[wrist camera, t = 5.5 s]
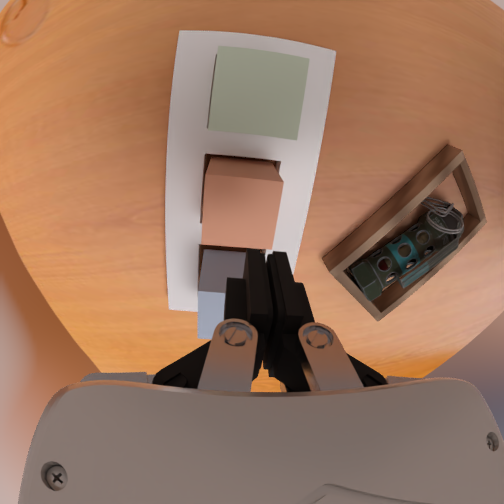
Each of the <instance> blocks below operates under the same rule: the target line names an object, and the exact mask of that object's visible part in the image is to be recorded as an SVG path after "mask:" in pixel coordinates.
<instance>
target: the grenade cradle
mask: <svg viewBox="0 0 504 504" xmlns="http://www.w3.org/2000/svg"><path fill="white" fill-rule="evenodd" d="M451 172H453V175H454V177H455V179H456V182H457V184H458V187H459V189H460V192H461V194H462V197H463V199H464V202H465V205H466V208H467V211H468V214H467V215H466V216H465V217H464V218H463V222H464V231H463V233H462V235H461V236H460V238H459V245H458V248H457V249H456V250H455V251H453V252H452V253H451V254H450V255H448V256H447V257H446V258H445V259H443V260H442V261H441V262H439V263H438V264H437V265H436V266H434V267H433V268H432V269H430V270H429V271H428V272H426V273H425V274H424V275H422V276H421V277H419V278H418V279H417V280H415V281H414V282H412V283H411V284H410V285H408V286H407V287H405V288H402V286H401V285H400V284H399V282H398V280H397V281H396V282H395V283H393V284H392V285H391V286H390V287H389V288H387V289H386V290H385V291H384V292H382V293H381V295H380V296H378V297H377V298H375V299H374V300H372V301H371V302H370V301H368V300H367V298H366V297H365V295H364V293H363V291H362V290H361V288H360V286H359V285H358V283H357V281H356V280H355V279H354V278H353V277H352V276H351V275H350V274H349V273H348V272H347V270H346V268H347V267H348V266H350V265H351V264H352V263H353V262H354V261H356V260H357V259H358V258H359V257H360V256H362V255H363V254H364V253H365V252H366V251H367V250H369V249H370V248H371V247H372V246H373V245H374V244H376V243H377V242H378V241H379V240H380V239H381V238H383V237H384V236H385V235H386V234H387V233H388V232H389V231H390V230H392V229H393V228H394V227H395V226H396V225H397V224H398V223H399V222H400V221H402V220H403V219H404V218H405V217H406V216H407V215H408V214H409V213H410V212H411V211H412V210H413V209H415V208H416V207H417V206H418V205H419V204H420V203H421V202H422V201H423V200H424V199H425V198H426V197H427V196H428V195H429V194H430V193H431V192H432V191H433V190H434V189H435V188H436V187H437V186H438V185H439V184H440V183H441V182H442V181H443V180H444V179H445V178H446V177H447V176H448V175H449V174H450V173H451ZM486 223H487V221H486V218H485V214H484V211H483V207H482V204H481V200H480V197H479V194H478V191H477V188H476V185H475V182H474V179H473V177H472V174H471V171H470V169H469V166H468V163H467V161H466V158H465V156H464V153H463V151H462V150H460V149H457V148H455V147H452V146H449V145H447V146H446V147H445V148H444V149H443V150H442V151H441V152H440V153H439V154H438V155H437V156H436V157H435V158H434V159H433V160H431V161H430V162H429V163H428V164H427V165H426V166H425V167H424V168H423V169H422V170H421V171H420V172H419V173H418V174H417V175H416V176H415V177H414V178H413V179H412V180H411V181H409V182H408V183H407V184H406V185H405V186H404V187H403V188H402V189H401V190H400V191H399V192H398V193H397V194H395V195H394V196H393V197H392V198H391V199H390V200H389V201H388V202H387V203H386V204H384V205H383V206H382V207H381V208H380V209H379V210H378V211H377V212H376V213H374V214H373V215H372V216H371V217H370V218H369V219H368V220H367V221H365V222H364V223H363V224H362V225H361V226H360V227H359V228H357V229H356V230H355V231H354V232H353V233H352V234H350V235H349V236H348V237H347V238H346V239H345V240H343V241H342V242H341V243H340V244H339V245H338V246H336V247H335V248H334V249H333V250H332V251H330V252H329V253H328V254H327V255H326V256H325V257H323V258H322V259H323V261H324V263H325V265H326V267H327V269H328V271H329V272H330V273H331V274H332V275H333V276H334V277H335V278H336V279H337V280H338V281H339V282H340V283H341V284H342V285H343V286H344V287H345V288H346V289H347V290H348V291H349V293H350V294H351V295H352V296H353V297H354V298H355V299H356V300H357V301H358V302H359V303H360V304H361V305H362V306H363V307H364V308H365V309H366V310H367V311H368V312H369V313H370V314H371V315H372V316H373V317H374V318H375V319H376V320H377V322H378V321H379V320H381V319H382V318H383V317H385V316H386V315H387V314H388V313H390V312H391V311H392V310H393V309H395V308H396V307H397V306H398V305H400V304H401V303H402V302H403V301H405V300H406V299H407V298H408V297H409V296H411V295H412V294H413V293H414V292H415V291H417V290H418V289H419V288H420V287H421V286H422V285H424V284H425V283H426V282H427V281H428V280H429V279H430V278H431V277H433V276H434V275H435V274H436V273H437V272H438V271H439V270H440V269H441V268H442V267H443V266H444V265H446V264H447V263H448V262H449V261H450V260H451V259H452V258H453V257H454V256H455V255H456V254H457V253H458V252H459V251H460V250H461V249H462V248H463V247H464V246H465V245H466V244H467V243H468V242H469V241H470V240H471V239H472V238H473V237H474V236H475V235H476V233H477V232H478V231H479V230H480V229H481V228H482V227H483V226H484V225H485V224H486ZM438 252H439V251H436V252H434V253H433V254H432V255H431V256H429V257H428V258H427V259H425V260H423V261H422V262H421V263H419V264H418V265H416V266H415V267H414V268H413V269H411V270H410V271H408V272H406V273H405V274H404V275H403V276H402V277H400V279H402V278H403V277H405V276H406V275H408V274H409V273H410V272H412V271H413V270H415V269H416V268H417V267H419V266H420V265H422V264H423V263H424V262H426V261H427V260H428V259H430V258H431V257H432V256H434V255H435V254H436V253H438ZM429 253H430V252H429Z"/></svg>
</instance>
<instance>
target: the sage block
mask: <svg viewBox="0 0 504 504" xmlns="http://www.w3.org/2000/svg"><path fill="white" fill-rule="evenodd" d="M309 60H310V59H309V58H304V57H299V56H294V55H289V54H283V53H277V52H271V51H264V50H257V49H249V48H240V47H228V46H218V52H217V59H216V66H215V73H214V81H213V89H212V97H211V106H210V115H209V125H208V130H209V131H223V132H234V133H244V134H253V135H262V136H269V137H277V138H284V139H290V140H297V137H298V131H299V125H300V119H301V113H302V106H303V100H304V93H305V87H306V80H307V74H308V67H309Z"/></svg>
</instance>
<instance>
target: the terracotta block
mask: <svg viewBox="0 0 504 504" xmlns="http://www.w3.org/2000/svg"><path fill="white" fill-rule="evenodd" d="M283 185H284V181H283V180H282V178H281V177H280V175H279V173H278V172H277V170H276V169H275V167H274V166H273V164H272V162H264V161H255V160H245V159H235V158H224V157H211V160H210V163H209V166H208V169H207V171H206V174H205V187H204V202H203V218H202V238H201V244H204V245H217V246H230V247H243V248H256V249H269V250H272V247H273V241H274V236H275V230H276V224H277V219H278V213H279V208H280V202H281V196H282V190H283Z"/></svg>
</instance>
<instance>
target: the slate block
mask: <svg viewBox="0 0 504 504" xmlns="http://www.w3.org/2000/svg"><path fill="white" fill-rule="evenodd" d="M245 257H246V252H235V251H221V250H208V249H204V253H203V260H202V267H201V273H200V281H199V288H198V338H201V339H212V336H213V333H214V330H215V328H216V326H217V325H218V324H219V323H220V322H222V321H224V304H225V291H226V281H227V277H231V278H243V272H244V264H245Z"/></svg>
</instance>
